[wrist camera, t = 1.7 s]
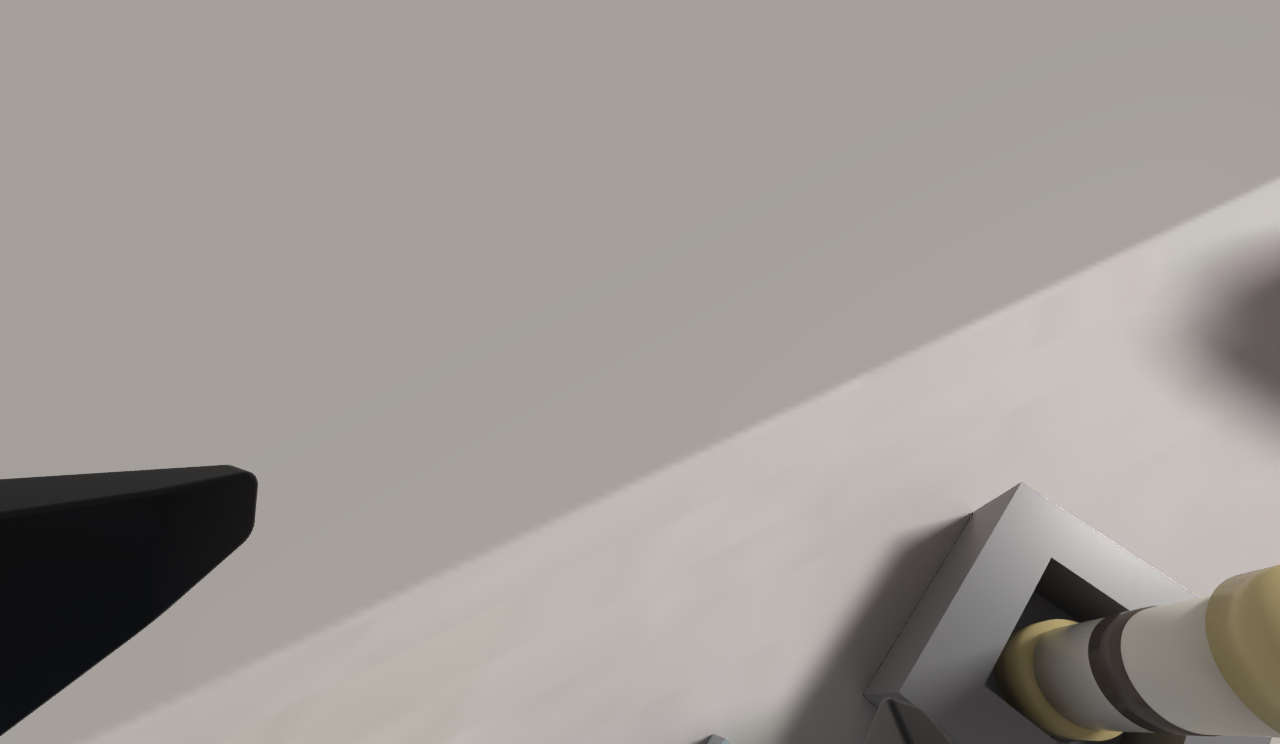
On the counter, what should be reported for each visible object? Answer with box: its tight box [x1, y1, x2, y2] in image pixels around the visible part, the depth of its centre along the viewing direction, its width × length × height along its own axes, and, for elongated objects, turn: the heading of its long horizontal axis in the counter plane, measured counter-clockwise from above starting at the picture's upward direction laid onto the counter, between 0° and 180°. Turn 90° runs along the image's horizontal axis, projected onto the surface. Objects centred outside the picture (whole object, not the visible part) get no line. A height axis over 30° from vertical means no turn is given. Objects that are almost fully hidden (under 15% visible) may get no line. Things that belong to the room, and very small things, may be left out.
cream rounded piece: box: [995, 565, 1280, 741], centre depth 15 cm, size 3×3×10 cm
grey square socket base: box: [863, 482, 1272, 744], centre depth 18 cm, size 8×8×3 cm
